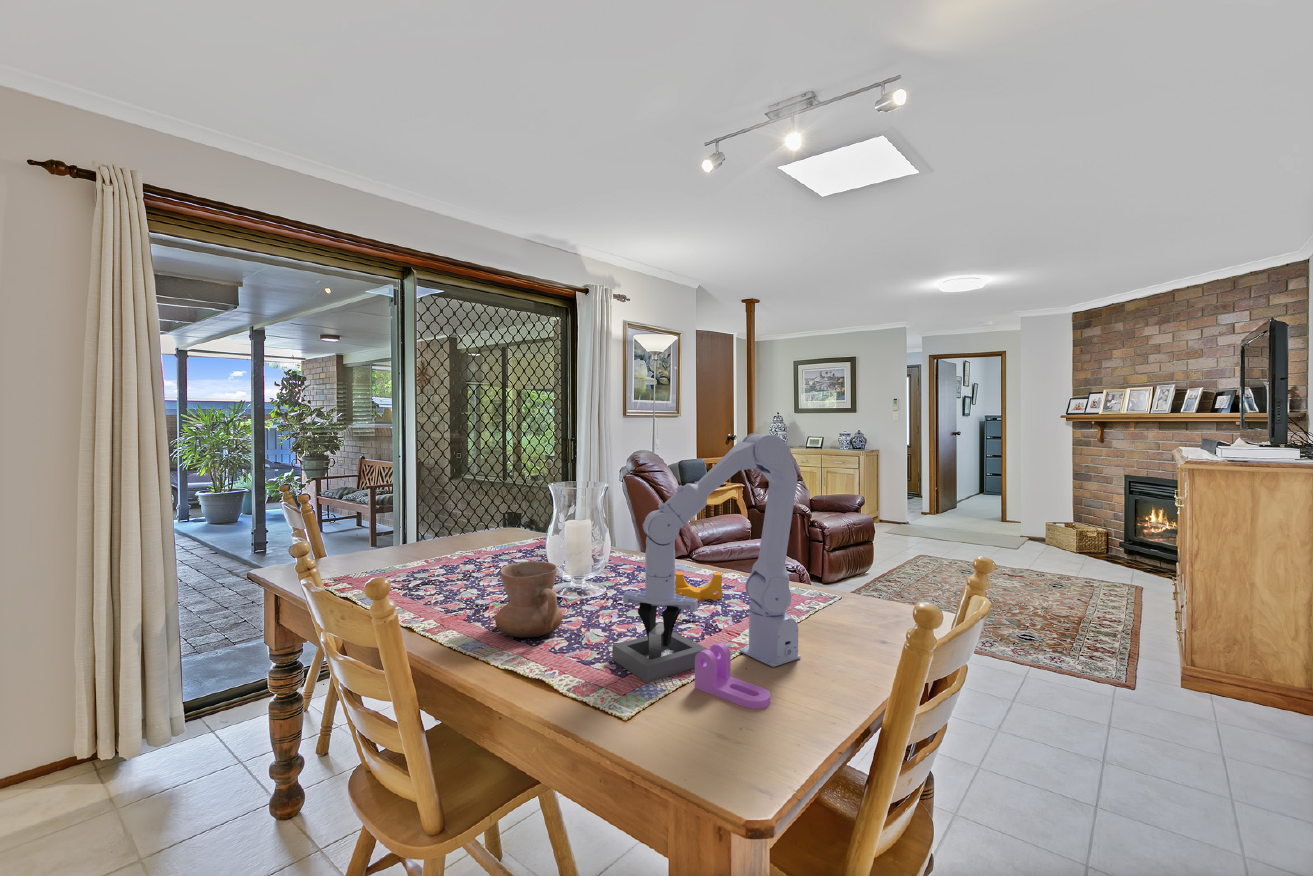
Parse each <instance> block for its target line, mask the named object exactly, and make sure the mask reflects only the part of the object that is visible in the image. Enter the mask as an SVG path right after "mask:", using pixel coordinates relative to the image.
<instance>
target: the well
mask: <svg viewBox="0 0 1313 876" xmlns="http://www.w3.org/2000/svg"><path fill="white" fill-rule="evenodd" d="M706 649H707V650H709V649H708V648H707V647H705V646H703V645H701V644H699V643H697V642H695V641H693V640H691V639H689V638H688V637H685V636H683V635H681V634H679V633H678V632H675V631H673V632H672V636H671V641H670V650H673V651H674V653H672V654H669V655H665V656H662V657H658V658H655V659H651V660H650V659H648V658H647V657H648V655H649V641H648V636H647V635H646V636H642V637H637V638H634V639H631V640H630V639H629V640H626V641H625V640H624V641H621V642H618V643H615V644H614V643H613V644H612V651H611V652H612V658H611V659H612V661H613V662H615V663H617V664H618V665H620V666H622V667H623V668H624V669H625V670H627V671H629V672H630V673H632V674H633V675H635V676H636V677H638V678H640V679H641V680H642V681H643V682H646V683H651V682H655V681H657V680H661V679H664V678H668V677H670V676H674V675H676V674H680V673H683V672H686V671H691V670H693V669H695V656H696V654H697V653H699V652H701V651H703V650H706ZM705 662H706V660H705ZM706 663H707V662H706Z"/></svg>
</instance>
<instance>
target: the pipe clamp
mask: <svg viewBox="0 0 1313 876" xmlns="http://www.w3.org/2000/svg"><path fill="white" fill-rule="evenodd" d="M722 578H723V576H722V572H721V571H720V572H717V571H716V572H715V571H714V572H713V575H712V577H711V580H710V581H709V582H708V583H707V584H706V585H704V586H701V587H699V586H698V587H695V586H693V585H691V584H689V583H688V582H687V581H686V579H685V577H684V572H683V571H682V572H681V571H675V594H677V595H681V596H685V597H689V598H695V599H698V602H701V600H722V595H723V594H722V593H723V592H722V587H723V584H722V583H723V579H722Z"/></svg>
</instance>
